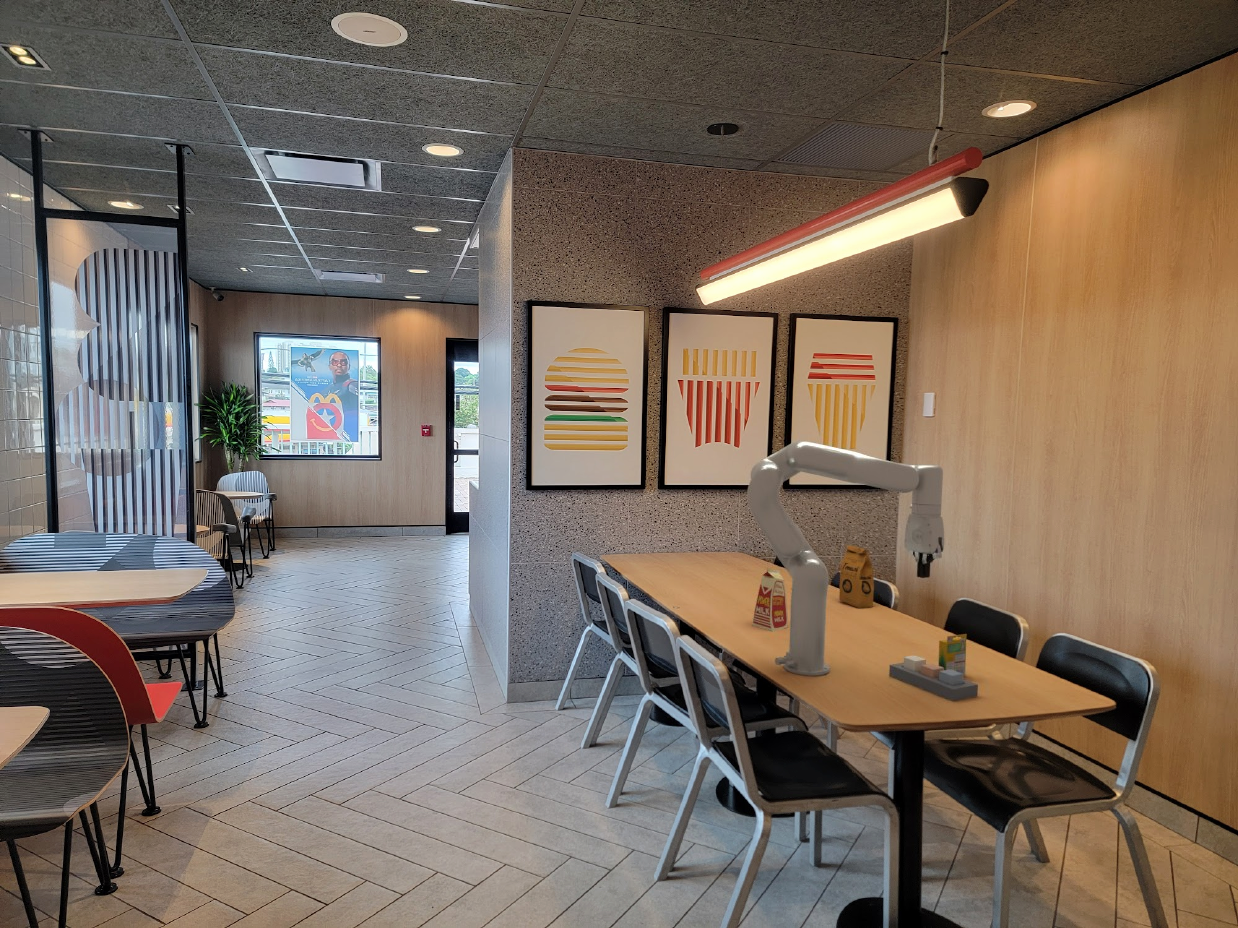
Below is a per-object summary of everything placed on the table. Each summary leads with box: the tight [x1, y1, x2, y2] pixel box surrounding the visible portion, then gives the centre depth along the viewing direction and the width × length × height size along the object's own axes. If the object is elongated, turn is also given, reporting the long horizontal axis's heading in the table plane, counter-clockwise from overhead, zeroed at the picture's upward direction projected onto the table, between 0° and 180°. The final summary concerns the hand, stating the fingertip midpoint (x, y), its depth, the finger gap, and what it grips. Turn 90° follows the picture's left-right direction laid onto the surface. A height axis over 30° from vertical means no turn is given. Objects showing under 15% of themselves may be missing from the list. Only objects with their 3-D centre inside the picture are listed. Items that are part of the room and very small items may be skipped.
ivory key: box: [903, 654, 927, 672], centre depth 214 cm, size 4×4×4 cm
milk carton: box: [751, 567, 789, 632], centre depth 265 cm, size 9×9×20 cm
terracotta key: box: [921, 663, 944, 678], centre depth 208 cm, size 4×4×4 cm
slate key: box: [939, 669, 964, 686], centre depth 203 cm, size 4×4×4 cm
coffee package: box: [838, 544, 875, 609], centre depth 299 cm, size 10×12×22 cm
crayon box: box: [938, 633, 968, 677], centre depth 217 cm, size 7×3×12 cm, turn 113°
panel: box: [888, 662, 979, 702], centre depth 208 cm, size 9×21×3 cm, turn 26°
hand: (923, 576), depth 216 cm, fingers closed
